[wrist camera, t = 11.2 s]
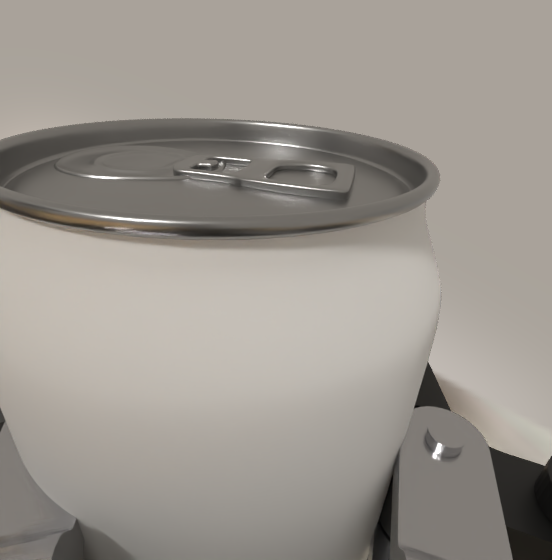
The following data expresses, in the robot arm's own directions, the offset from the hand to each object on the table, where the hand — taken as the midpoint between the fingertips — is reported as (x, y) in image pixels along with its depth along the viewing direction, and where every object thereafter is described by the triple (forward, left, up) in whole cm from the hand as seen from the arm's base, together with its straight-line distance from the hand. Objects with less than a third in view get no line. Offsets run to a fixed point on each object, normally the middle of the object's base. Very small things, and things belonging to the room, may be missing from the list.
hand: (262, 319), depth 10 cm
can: (-1, -3, -7) cm, 8 cm away
